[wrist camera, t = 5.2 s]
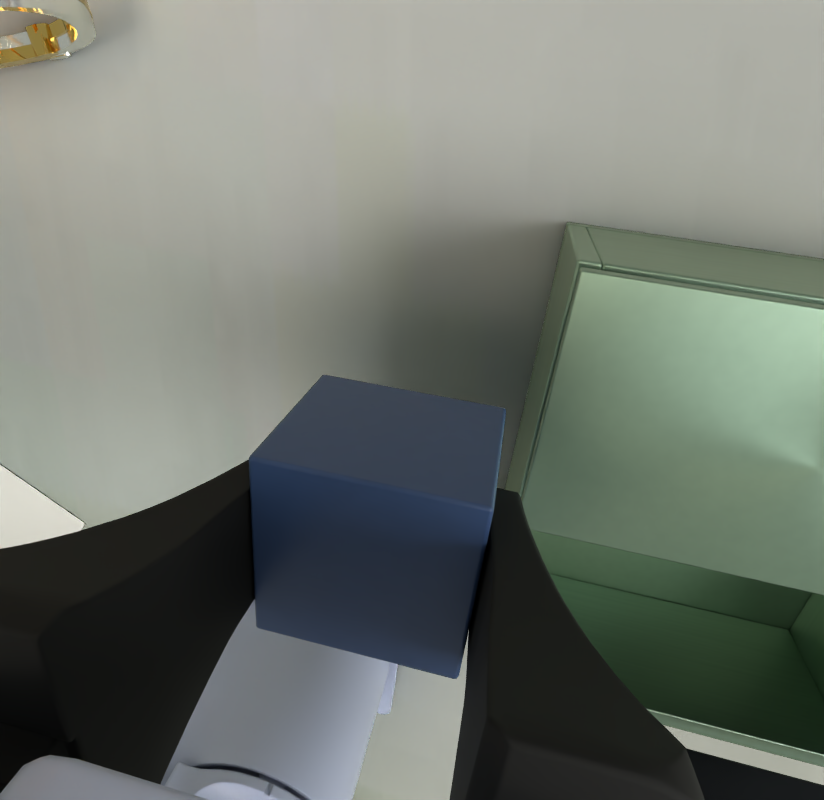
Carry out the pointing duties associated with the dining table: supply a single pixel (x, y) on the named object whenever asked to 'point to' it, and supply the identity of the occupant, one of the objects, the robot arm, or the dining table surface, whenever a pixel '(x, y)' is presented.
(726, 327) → the washer
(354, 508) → the navy cube
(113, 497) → the dining table surface
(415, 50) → the dining table surface
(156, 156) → the dining table surface
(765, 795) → the lid
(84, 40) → the gold ring
